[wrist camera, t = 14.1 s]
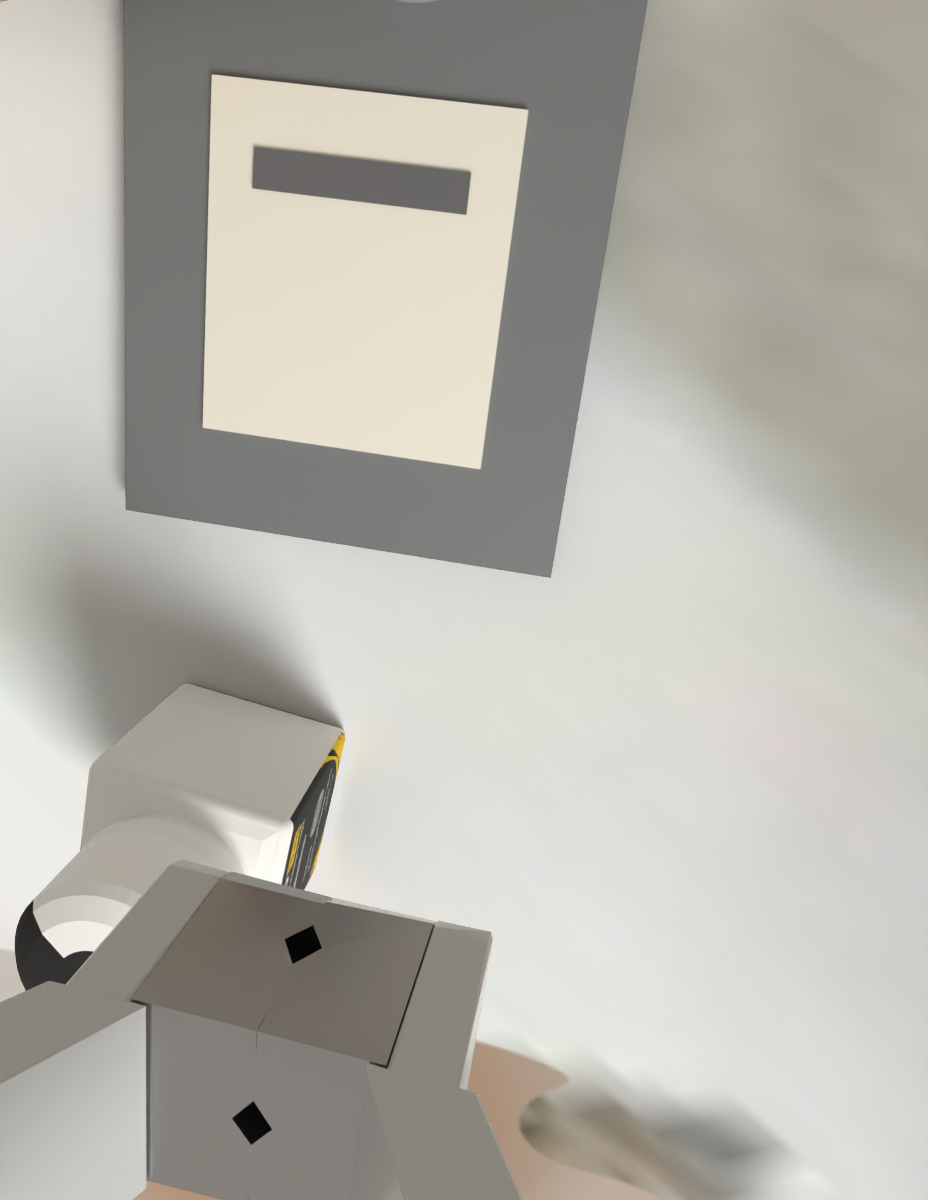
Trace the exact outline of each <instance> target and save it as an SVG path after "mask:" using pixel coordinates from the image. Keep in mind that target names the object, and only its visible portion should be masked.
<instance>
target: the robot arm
mask: <svg viewBox="0 0 928 1200" xmlns="http://www.w3.org/2000/svg"><path fill="white" fill-rule="evenodd" d="M492 938H493V936H492V934H491V932H488V931H484V930H479V929H474V928H470V927H465V926H460V925H456V924H451V923H446V922H441V921H438V922H436V921H431V920H427V919H423V918H418V917H414V916H410V915H405V914H401V913H396V912H392V911H388V910H383V909H379V908H375V907H370V906H366V905H361V904H357V903H353V902H348V901H344V900H340V899H335V898H333V899H332V898H331V897H327V896H324V895H320V894H316V893H312V892H308V891H305V890H301V889H297V888H293V887H289V886H285V885H282V884H278V883H274V882H270V881H266V880H263V879H259V878H255V877H251V876H247V875H244V874H240V873H236V872H227V871H224V870H220V869H216V868H213V867H209V866H205V865H201V864H197V863H194V862H190V861H186V860H182V859H181V860H179V861H177V862H175V863H173V864H171V865H169V866H167V867H166V868H165V869H164V870H163V872H162V873H161V874H160V875H159V876H158V877H157V879H156V880H155V881H154V882H153V883H152V884H151V885H150V887H149V888H148V889H147V890H146V891H145V892H144V894H143V895H142V896H141V897H140V898H139V899H138V901H137V902H136V903H135V904H134V905H133V906H132V908H131V909H130V910H129V911H128V912H127V913H126V915H125V916H124V917H123V918H122V919H121V920H120V922H119V923H118V924H117V925H116V926H115V927H114V929H113V930H112V931H111V932H110V933H109V934H108V936H107V937H106V938H105V939H104V940H103V941H102V943H101V944H100V945H99V946H98V947H97V948H96V950H95V951H94V952H93V953H92V954H91V955H90V957H89V958H88V959H87V960H86V961H85V962H84V964H83V965H82V966H81V967H80V968H79V969H78V971H77V972H76V973H75V974H74V975H73V976H72V978H71V979H70V980H69V981H68V982H67V983H66V985H65V984H61V983H56V982H52V981H47V982H45V983H43V984H40V985H38V986H36V987H34V988H31V989H29V990H27V991H25V992H23V993H20V994H18V995H16V996H14V997H11V998H9V999H7V1000H5V1001H3V1002H0V1200H132V1199H133V1198H134V1197H136V1196H137V1195H138V1194H139V1193H141V1192H142V1191H143V1190H144V1189H146V1185H147V1184H146V1183H147V1180H148V1181H151V1182H155V1183H160V1184H164V1185H168V1186H171V1187H175V1188H179V1189H183V1190H187V1191H191V1192H195V1193H198V1194H202V1195H206V1196H210V1197H214V1198H218V1199H222V1200H522V1197H521V1195H520V1193H519V1190H518V1188H517V1186H516V1183H515V1181H514V1179H513V1176H512V1174H511V1171H510V1169H509V1167H508V1165H507V1162H506V1160H505V1157H504V1155H503V1153H502V1150H501V1148H500V1146H499V1143H498V1141H497V1138H496V1136H495V1134H494V1131H493V1129H492V1127H491V1124H490V1122H489V1120H488V1117H487V1115H486V1113H485V1110H484V1108H483V1105H482V1103H481V1101H480V1099H479V1096H478V1094H477V1093H474V1092H471V1091H468V1090H467V1086H468V1080H469V1075H470V1069H471V1063H472V1057H473V1052H474V1046H475V1040H476V1035H477V1029H478V1023H479V1017H480V1011H481V1006H482V1000H483V994H484V988H485V983H486V977H487V971H488V965H489V959H490V954H491V948H492Z"/></svg>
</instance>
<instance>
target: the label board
mask: <svg viewBox="0 0 928 1200" xmlns="http://www.w3.org/2000/svg"><path fill="white" fill-rule="evenodd" d="M646 6H647V0H124V184H125V456H126V510H130V511H137V512H143V513H149V514H155V515H162V516H168V517H174V518H180V519H187V520H193V521H199V522H205V523H212V524H218V525H224V526H230V527H237V528H243V529H249V530H255V531H262V532H268V533H274V534H280V535H287V536H293V537H299V538H305V539H312V540H318V541H324V542H330V543H337V544H343V545H349V546H355V547H362V548H368V549H374V550H380V551H387V552H393V553H399V554H405V555H412V556H418V557H424V558H430V559H437V560H443V561H449V562H455V563H462V564H468V565H474V566H480V567H487V568H493V569H499V570H505V571H512V572H518V573H524V574H530V575H537V576H543V577H549V578H551V572H552V566H553V560H554V555H555V549H556V543H557V537H558V531H559V525H560V519H561V513H562V507H563V501H564V495H565V489H566V483H567V477H568V471H569V465H570V459H571V453H572V447H573V441H574V435H575V429H576V423H577V417H578V411H579V405H580V399H581V394H582V388H583V382H584V376H585V370H586V364H587V358H588V352H589V346H590V340H591V334H592V328H593V322H594V316H595V310H596V304H597V298H598V292H599V286H600V280H601V274H602V268H603V262H604V256H605V250H606V244H607V239H608V233H609V227H610V221H611V215H612V209H613V203H614V197H615V191H616V185H617V179H618V173H619V167H620V161H621V155H622V149H623V143H624V137H625V131H626V125H627V119H628V113H629V107H630V101H631V95H632V89H633V84H634V78H635V72H636V66H637V60H638V54H639V48H640V42H641V36H642V30H643V24H644V18H645V12H646Z"/></svg>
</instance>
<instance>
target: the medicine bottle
mask: <svg viewBox="0 0 928 1200" xmlns="http://www.w3.org/2000/svg"><path fill="white" fill-rule="evenodd" d="M344 741H345V733H344V731H343V730H342V729H340V728H338V727H334V726H331V725H328V724H324V723H321V722H317V721H314V720H311V719H307V718H304V717H300V716H297V715H294V714H290V713H287V712H284V711H280V710H277V709H273V708H270V707H267V706H263V705H260V704H256V703H253V702H250V701H246V700H243V699H239V698H236V697H233V696H229V695H226V694H222V693H219V692H216V691H212V690H209V689H206V688H202V687H199V686H195V685H192V684H183V685H181V686H179V687H178V688H177V689H176V690H175V691H174V692H173V693H171V694H170V695H169V696H168V697H167V698H166V699H165V700H164V701H162V702H161V703H160V704H159V705H158V706H157V707H156V708H155V709H153V710H152V711H151V712H150V713H149V714H148V715H147V716H146V717H144V718H143V719H142V720H141V721H140V722H139V723H138V724H137V725H135V726H134V727H133V728H132V729H131V730H130V731H129V732H128V733H126V734H125V735H124V736H123V737H122V738H121V739H120V740H118V741H117V742H116V743H115V744H114V745H113V746H112V747H111V748H109V749H108V750H107V751H106V752H105V753H104V754H103V755H102V756H100V757H99V758H98V759H97V760H96V761H95V762H94V763H93V764H92V766H91V768H90V770H89V778H88V787H87V796H86V804H85V813H84V822H83V831H82V839H81V848H80V852H79V853H78V854H77V855H76V856H75V857H74V858H73V859H72V860H71V861H70V862H69V863H68V864H67V865H66V866H65V868H64V869H63V870H62V871H61V872H60V873H59V874H58V875H57V876H56V877H55V878H54V879H53V880H52V881H51V882H50V883H49V884H48V885H47V886H46V887H45V888H44V889H43V890H42V891H41V892H40V894H39V895H38V896H37V897H36V898H35V899H34V900H33V901H32V902H31V903H30V904H29V905H28V906H27V908H26V909H25V911H24V912H23V914H22V916H21V917H20V920H19V923H18V925H17V929H16V935H15V956H16V963H17V969H18V972H19V976H20V978H21V981H22V983H23V985H24V988H25V990H26V991H27V990H29V989H31V988H34V987H36V986H38V985H40V984H43V983H45V982H47V981H52V982H56V983H61V984H65V985H66V983H67V982H68V981H69V980H70V979H71V978H72V976H73V975H74V974H75V973H76V972H77V971H78V969H79V968H80V967H81V966H82V965H83V964H84V962H85V961H86V960H87V959H88V958H89V957H90V955H91V954H92V953H93V952H94V951H95V950H96V948H97V947H98V946H99V945H100V944H101V943H102V941H103V940H104V939H105V938H106V937H107V936H108V934H109V933H110V932H111V931H112V930H113V929H114V927H115V926H116V925H117V924H118V923H119V922H120V920H121V919H122V918H123V917H124V916H125V915H126V913H127V912H128V911H129V910H130V909H131V908H132V906H133V905H134V904H135V903H136V902H137V901H138V899H139V898H140V897H141V896H142V895H143V894H144V892H145V891H146V890H147V889H148V888H149V887H150V885H151V884H152V883H153V882H154V881H155V880H156V879H157V877H158V876H159V875H160V874H161V873H162V872H163V870H164V869H165V868H166V867H167V866H169V865H171V864H173V863H175V862H177V861H179V860H181V859H182V860H186V861H190V862H194V863H197V864H201V865H205V866H209V867H213V868H216V869H220V870H224V871H227V872H236V873H240V874H244V875H247V876H251V877H255V878H259V879H263V880H266V881H270V882H274V883H278V884H282V885H285V886H289V887H293V888H297V889H301V890H304V889H305V887H306V885H307V883H308V881H309V879H310V877H311V875H312V873H313V871H314V869H315V867H316V862H317V858H318V854H319V849H320V845H321V841H322V836H323V832H324V828H325V823H326V819H327V815H328V810H329V806H330V802H331V797H332V793H333V789H334V784H335V780H336V776H337V771H338V767H339V763H340V758H341V754H342V750H343V745H344Z"/></svg>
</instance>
